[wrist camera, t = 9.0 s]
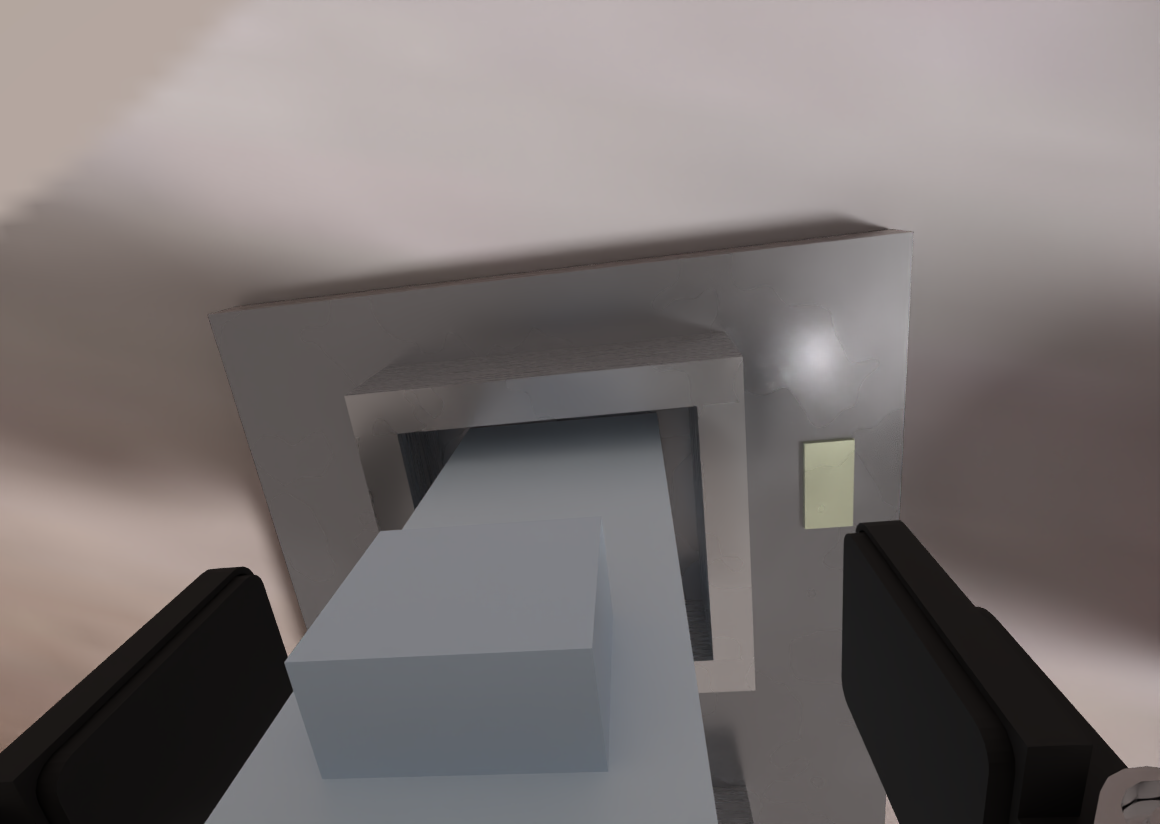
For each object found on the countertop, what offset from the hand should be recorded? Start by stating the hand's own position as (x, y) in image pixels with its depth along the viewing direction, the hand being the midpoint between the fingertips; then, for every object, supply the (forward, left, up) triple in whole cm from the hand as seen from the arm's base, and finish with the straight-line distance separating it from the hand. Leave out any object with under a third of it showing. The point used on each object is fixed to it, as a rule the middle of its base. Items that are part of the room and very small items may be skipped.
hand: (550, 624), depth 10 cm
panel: (-6, 0, -5) cm, 8 cm away
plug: (0, 0, -4) cm, 4 cm away
